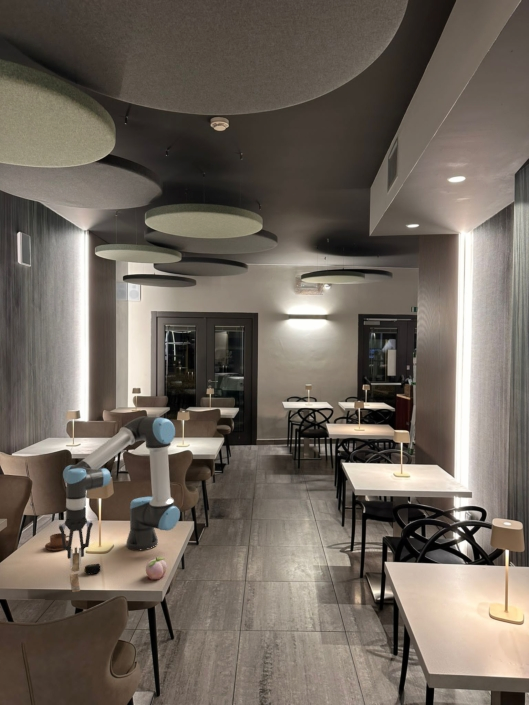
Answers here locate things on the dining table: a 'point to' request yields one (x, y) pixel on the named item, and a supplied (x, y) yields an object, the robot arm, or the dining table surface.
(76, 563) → the beige bottle
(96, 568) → the tape measure
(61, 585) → the dining table surface
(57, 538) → the cup and saucer
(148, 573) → the decorative fruit
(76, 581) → the joist strip
